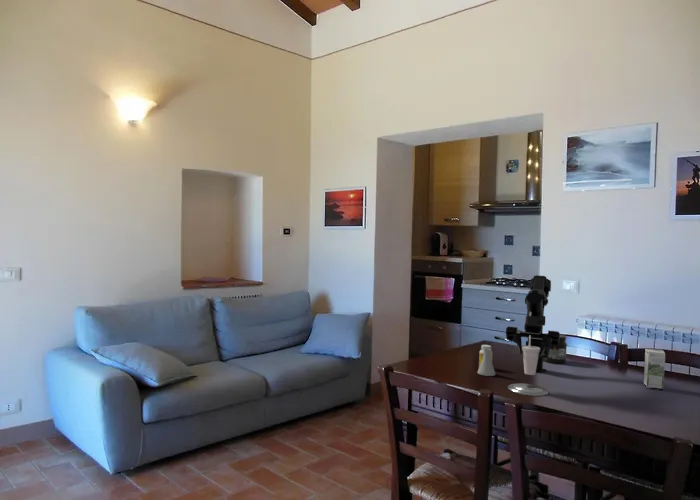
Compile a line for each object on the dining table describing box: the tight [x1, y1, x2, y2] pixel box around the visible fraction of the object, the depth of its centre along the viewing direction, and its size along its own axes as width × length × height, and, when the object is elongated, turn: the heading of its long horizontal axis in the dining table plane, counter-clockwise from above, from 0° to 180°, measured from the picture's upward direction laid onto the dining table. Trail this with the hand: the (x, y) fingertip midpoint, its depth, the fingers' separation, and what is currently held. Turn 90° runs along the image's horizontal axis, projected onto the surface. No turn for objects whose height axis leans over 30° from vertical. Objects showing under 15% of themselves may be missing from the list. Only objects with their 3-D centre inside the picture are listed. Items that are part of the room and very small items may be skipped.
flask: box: [476, 349, 496, 377], centre depth 208 cm, size 7×7×10 cm
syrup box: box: [643, 348, 666, 389], centre depth 198 cm, size 6×6×14 cm
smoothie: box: [522, 335, 540, 376], centre depth 187 cm, size 6×6×14 cm
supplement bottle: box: [478, 344, 493, 368], centre depth 218 cm, size 5×5×10 cm
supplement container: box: [543, 334, 568, 365], centre depth 236 cm, size 10×10×12 cm
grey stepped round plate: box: [507, 383, 549, 397], centre depth 188 cm, size 14×14×1 cm
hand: (530, 355), depth 186 cm, fingers closed on smoothie, 6 cm apart
